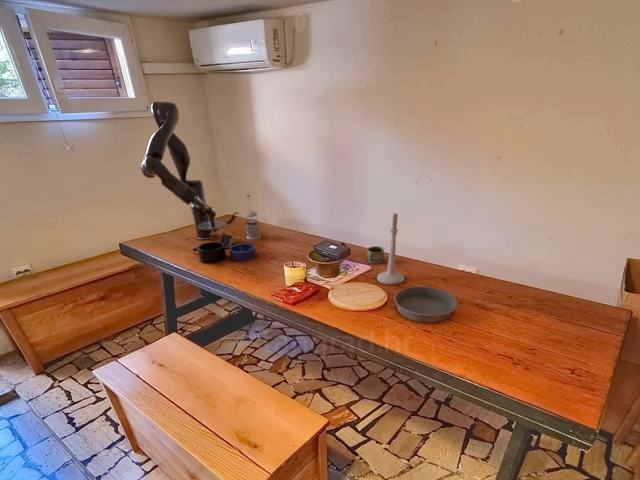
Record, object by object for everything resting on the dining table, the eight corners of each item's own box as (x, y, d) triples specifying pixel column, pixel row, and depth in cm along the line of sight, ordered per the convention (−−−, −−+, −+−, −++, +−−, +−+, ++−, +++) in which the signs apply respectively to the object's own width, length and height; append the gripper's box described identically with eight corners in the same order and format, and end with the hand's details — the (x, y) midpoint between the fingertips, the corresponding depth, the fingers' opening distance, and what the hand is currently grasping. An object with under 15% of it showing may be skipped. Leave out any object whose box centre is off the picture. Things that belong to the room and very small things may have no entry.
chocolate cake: (229, 249, 211) (235, 231, 213) (217, 246, 210) (222, 227, 212) (231, 256, 220) (236, 238, 222) (219, 253, 219) (224, 234, 221)
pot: (198, 255, 204) (195, 242, 200) (233, 253, 205) (230, 241, 201) (192, 264, 192) (189, 251, 188) (229, 262, 193) (227, 249, 189)
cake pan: (416, 331, 134) (417, 320, 131) (382, 302, 152) (382, 293, 150) (469, 316, 141) (471, 306, 139) (431, 291, 160) (432, 281, 158)
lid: (201, 223, 195) (197, 204, 189) (229, 222, 195) (225, 203, 190) (195, 231, 183) (190, 211, 177) (224, 230, 183) (221, 210, 178)
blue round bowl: (232, 252, 205) (231, 244, 203) (257, 251, 206) (256, 243, 203) (229, 261, 194) (227, 252, 191) (255, 260, 195) (253, 251, 192)
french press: (256, 233, 234) (250, 191, 220) (266, 237, 227) (261, 194, 212) (242, 237, 228) (236, 194, 214) (253, 241, 221) (246, 197, 207)
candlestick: (388, 286, 165) (393, 219, 148) (371, 277, 174) (374, 212, 157) (410, 280, 170) (417, 213, 153) (392, 271, 179) (397, 207, 162)
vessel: (373, 255, 197) (374, 244, 193) (388, 258, 193) (389, 247, 189) (362, 262, 189) (362, 251, 185) (377, 266, 185) (377, 254, 181)
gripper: (187, 189, 171) (219, 213, 180) (189, 183, 182) (219, 206, 191) (178, 201, 173) (210, 225, 182) (180, 195, 184) (210, 217, 193)
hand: (214, 215), depth 186 cm, fingers closed on lid, 2 cm apart
